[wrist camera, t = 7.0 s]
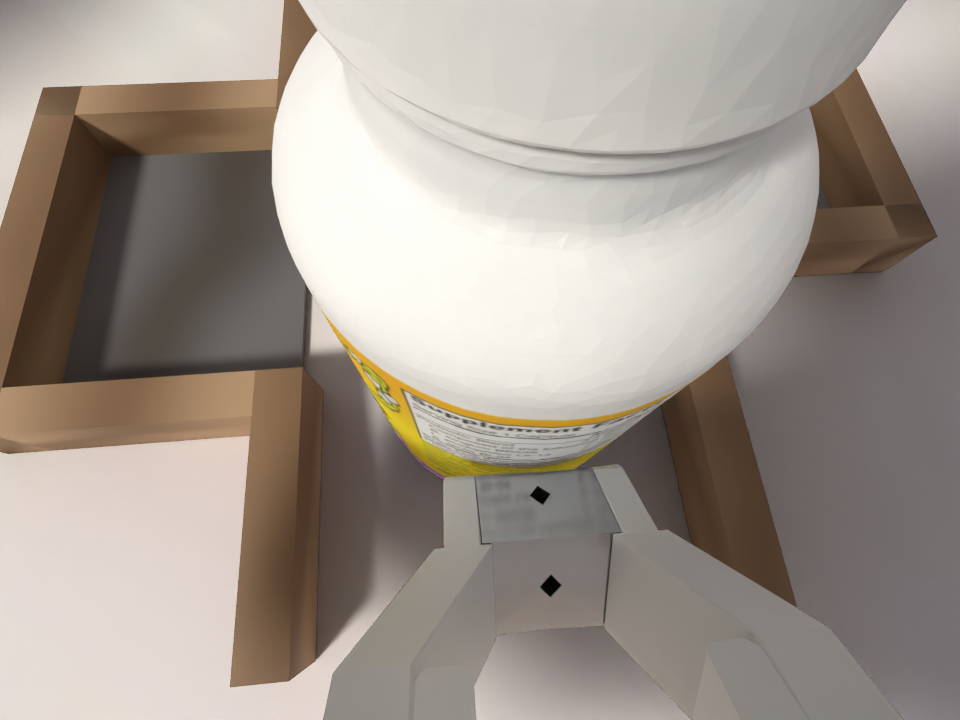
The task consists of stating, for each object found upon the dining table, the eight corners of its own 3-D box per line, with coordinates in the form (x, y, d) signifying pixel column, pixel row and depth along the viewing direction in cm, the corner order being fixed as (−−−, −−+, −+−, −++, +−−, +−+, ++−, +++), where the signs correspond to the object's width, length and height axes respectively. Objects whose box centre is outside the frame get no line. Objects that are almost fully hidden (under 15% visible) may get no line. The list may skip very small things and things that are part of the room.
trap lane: (-54, 698, 12) (-215, 745, 9) (129, -36, 21) (78, -125, 18) (1019, 589, 13) (1168, 600, 10) (748, -50, 23) (788, -134, 20)
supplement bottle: (406, 276, 16) (242, -516, 4) (609, 300, 16) (1032, -444, 4) (365, 484, 14) (-313, 4, 2) (604, 514, 14) (1621, 217, 2)
